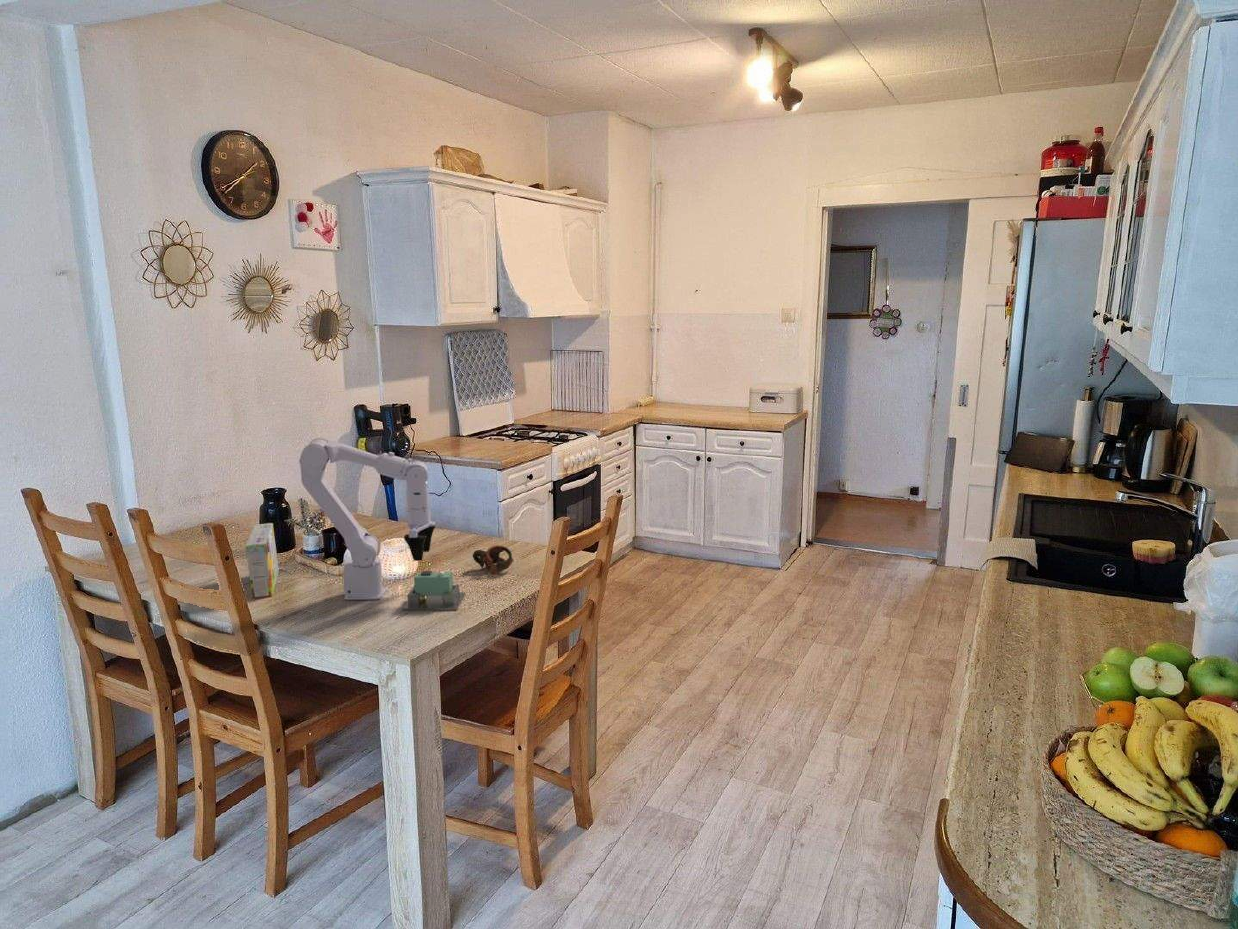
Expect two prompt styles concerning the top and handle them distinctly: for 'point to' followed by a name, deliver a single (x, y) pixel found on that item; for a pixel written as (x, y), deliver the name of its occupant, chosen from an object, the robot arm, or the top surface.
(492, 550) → the dark brown curved piece
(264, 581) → the snack box
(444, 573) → the green knobbed block
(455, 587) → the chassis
